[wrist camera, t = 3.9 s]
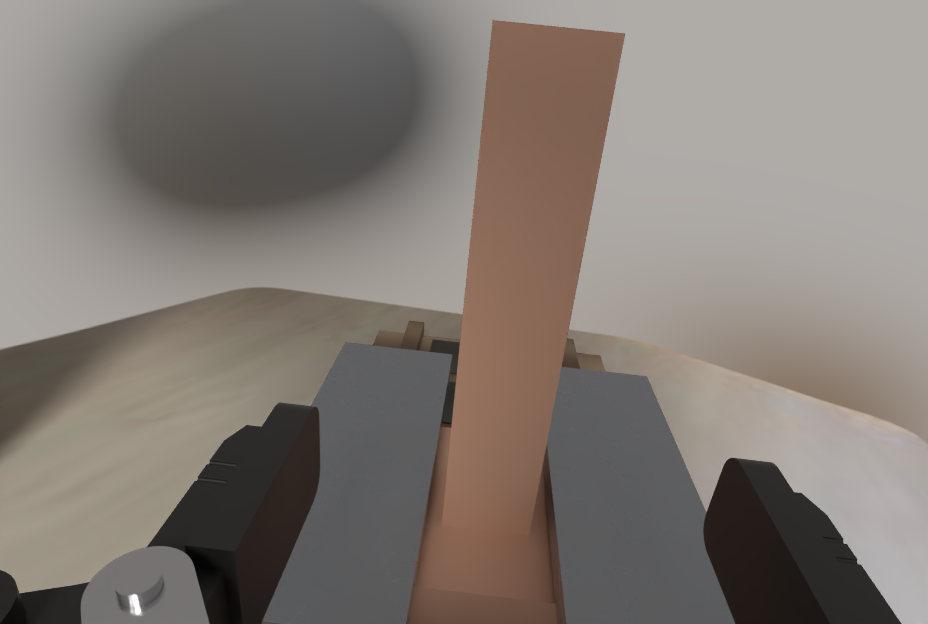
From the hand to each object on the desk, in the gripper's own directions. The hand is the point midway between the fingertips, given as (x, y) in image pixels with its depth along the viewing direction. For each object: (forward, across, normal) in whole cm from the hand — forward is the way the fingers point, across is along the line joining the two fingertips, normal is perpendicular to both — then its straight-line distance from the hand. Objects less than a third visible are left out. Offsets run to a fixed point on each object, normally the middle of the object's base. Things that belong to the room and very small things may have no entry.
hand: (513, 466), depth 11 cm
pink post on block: (+7, 0, +10) cm, 12 cm away
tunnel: (+7, 0, +10) cm, 13 cm away
